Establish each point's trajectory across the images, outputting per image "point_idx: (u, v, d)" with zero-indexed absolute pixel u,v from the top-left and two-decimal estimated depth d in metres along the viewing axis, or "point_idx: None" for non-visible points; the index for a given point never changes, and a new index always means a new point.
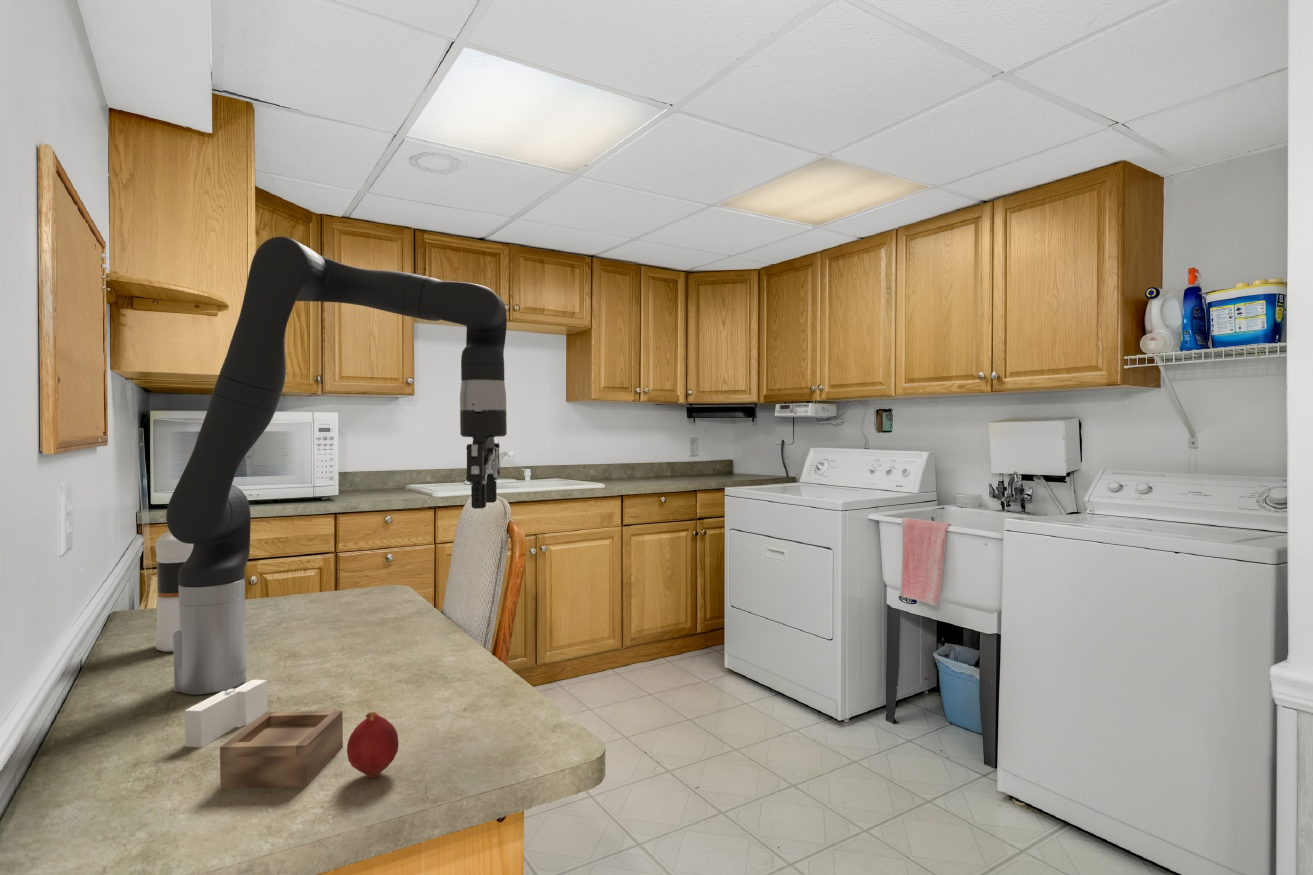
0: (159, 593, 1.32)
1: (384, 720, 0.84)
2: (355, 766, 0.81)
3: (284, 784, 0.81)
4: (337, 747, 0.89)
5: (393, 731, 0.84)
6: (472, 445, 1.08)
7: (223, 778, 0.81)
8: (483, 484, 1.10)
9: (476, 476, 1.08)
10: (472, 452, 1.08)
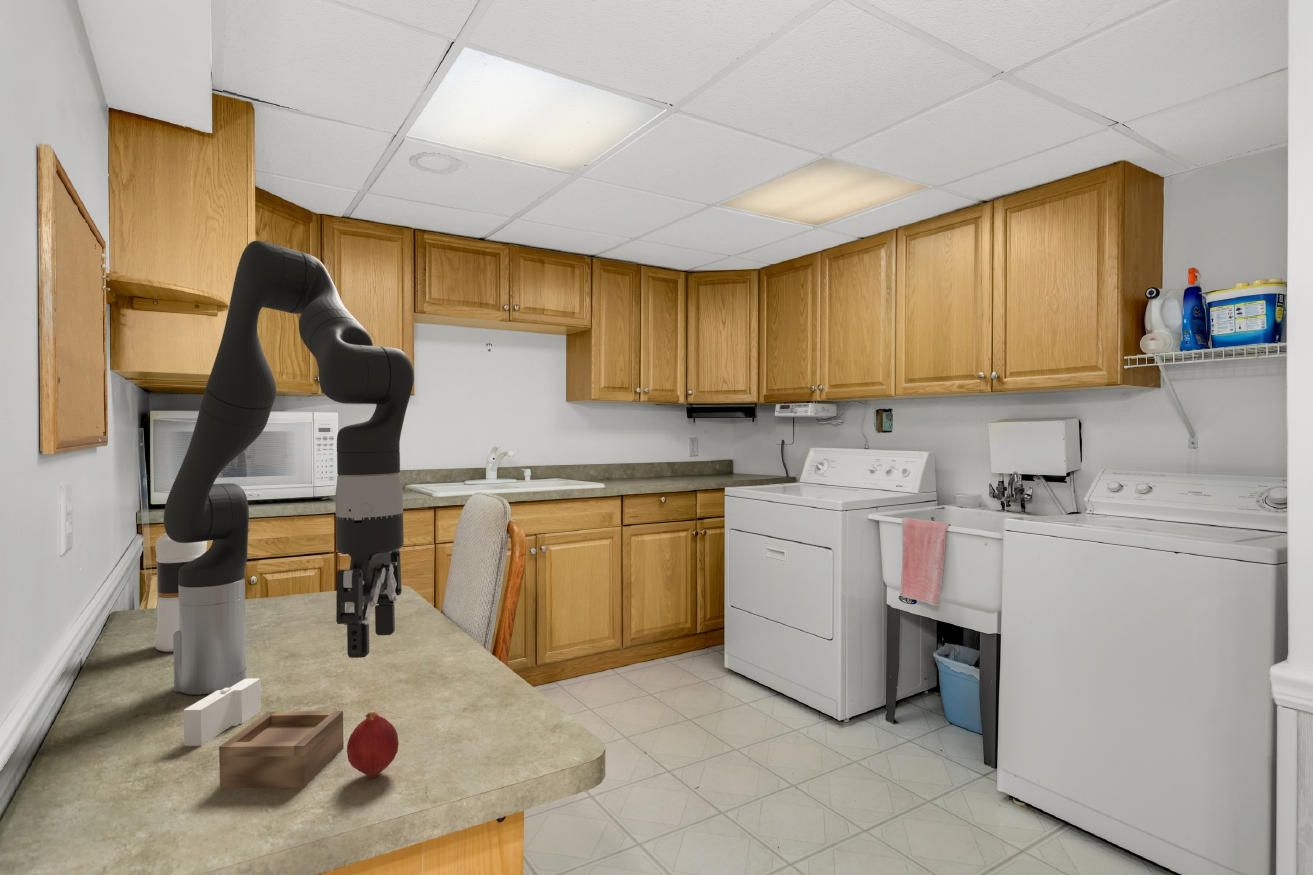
0: (159, 593, 1.32)
1: (384, 720, 0.84)
2: (355, 766, 0.81)
3: (282, 784, 0.81)
4: (337, 748, 0.89)
5: (393, 731, 0.84)
6: (344, 572, 0.76)
7: (222, 778, 0.81)
8: (363, 624, 0.78)
9: (350, 616, 0.76)
10: (344, 582, 0.76)
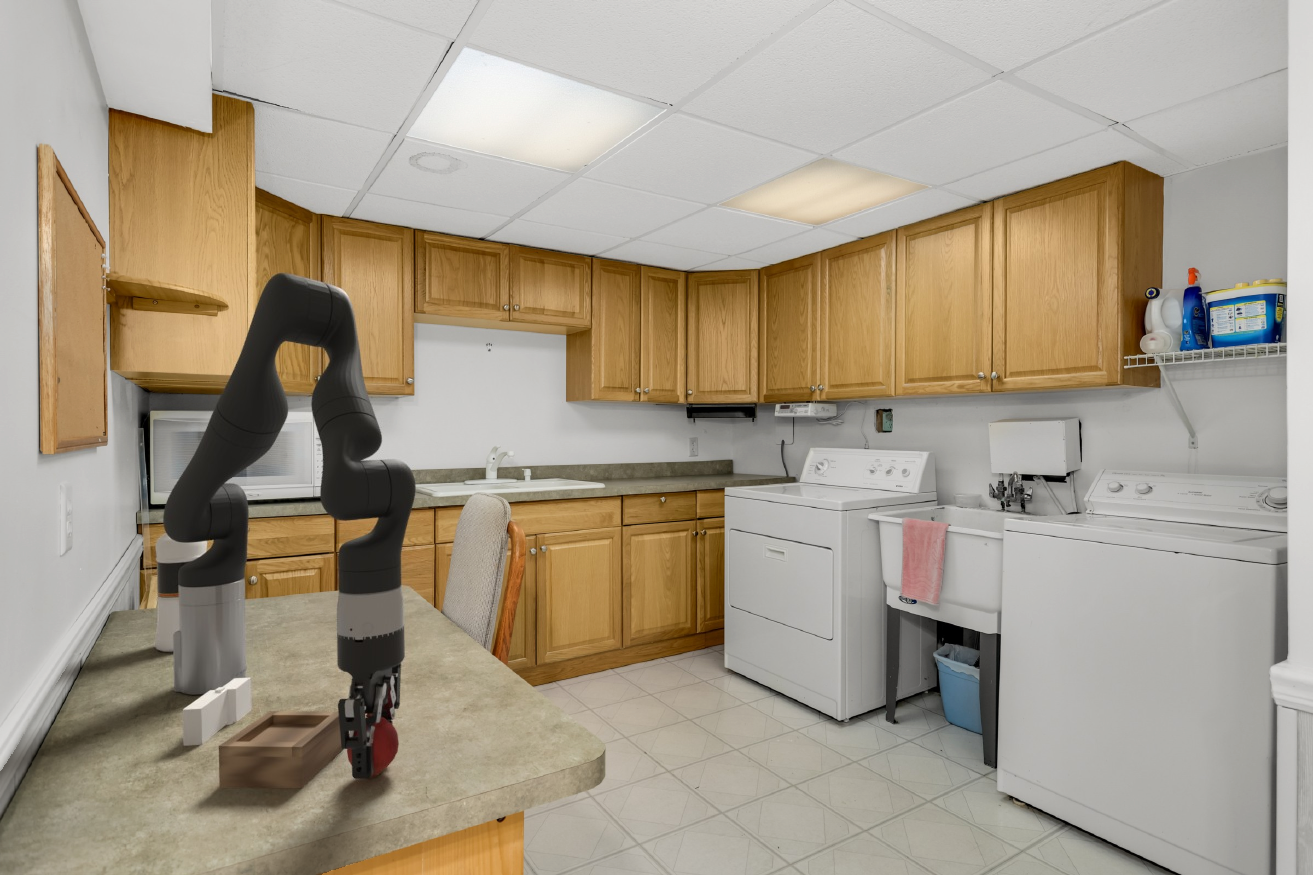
0: (159, 593, 1.32)
1: (384, 720, 0.84)
2: None
3: (281, 784, 0.81)
4: (337, 748, 0.89)
5: (393, 730, 0.84)
6: (346, 703, 0.77)
7: (222, 777, 0.81)
8: None
9: (355, 743, 0.77)
10: (346, 713, 0.77)
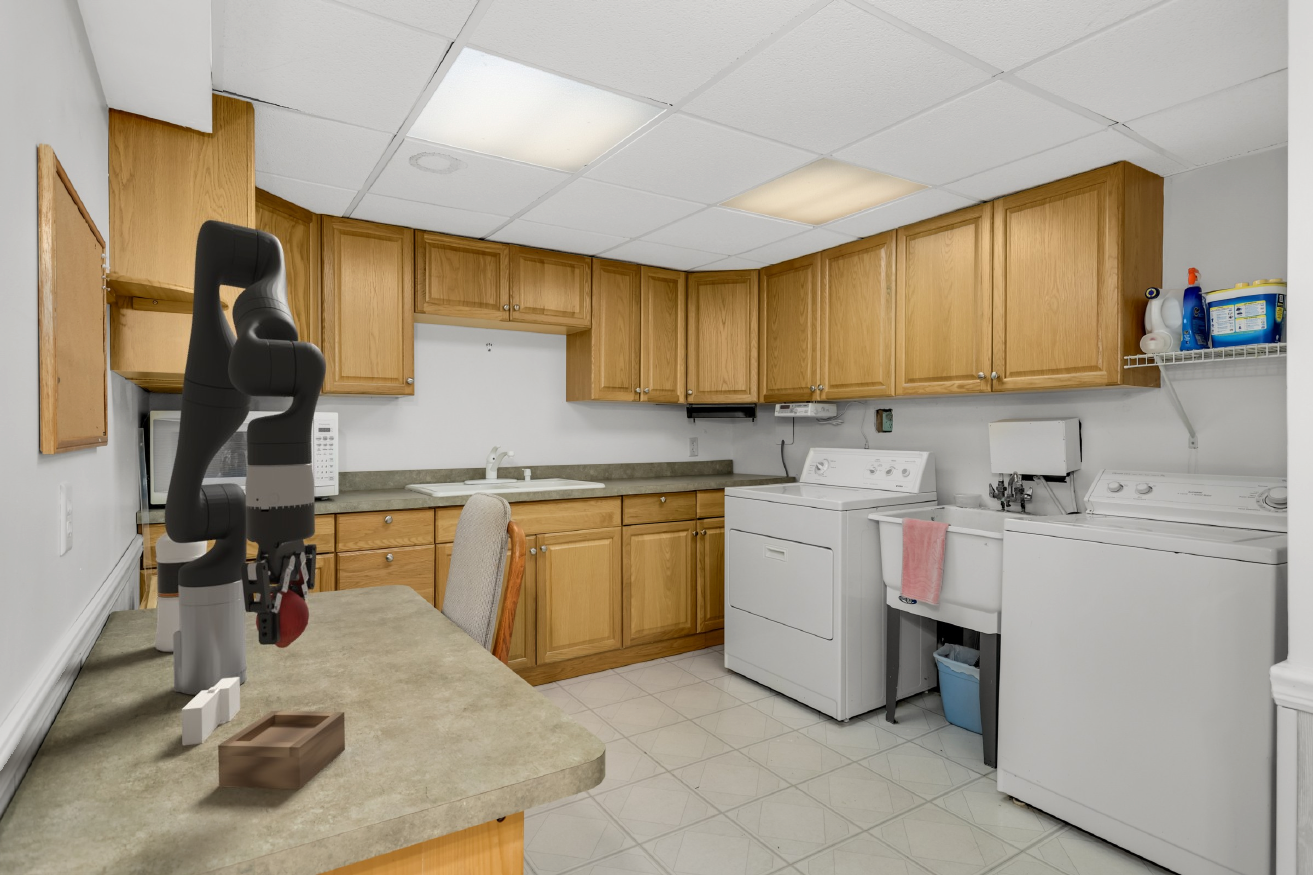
0: (159, 593, 1.32)
1: (294, 593, 0.86)
2: None
3: (278, 785, 0.81)
4: (337, 749, 0.89)
5: (303, 604, 0.86)
6: (248, 566, 0.79)
7: (221, 776, 0.81)
8: (274, 612, 0.82)
9: (258, 606, 0.80)
10: (249, 575, 0.79)
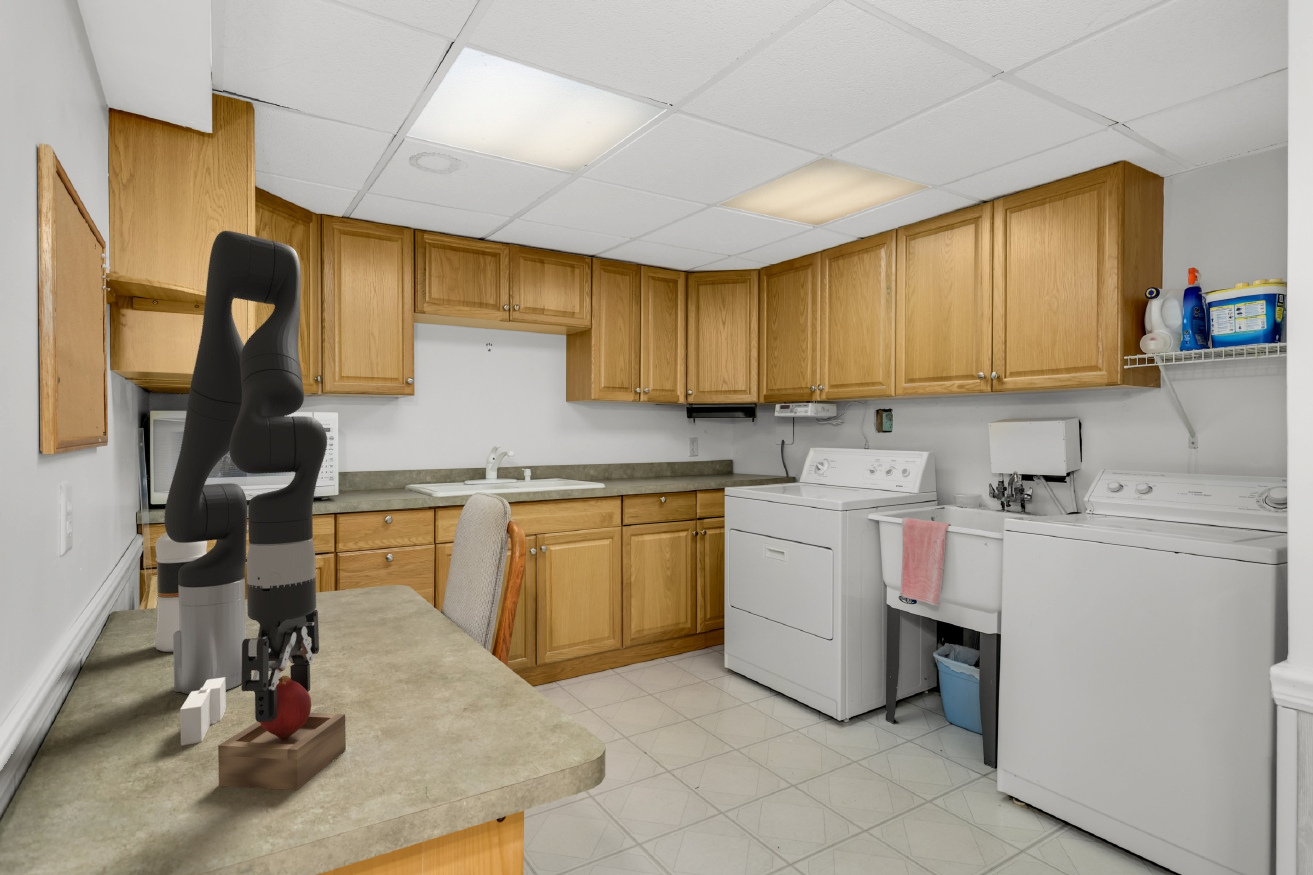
0: (159, 593, 1.32)
1: (297, 685, 0.86)
2: (265, 728, 0.84)
3: (276, 787, 0.81)
4: (337, 751, 0.89)
5: (305, 695, 0.86)
6: (250, 641, 0.79)
7: (221, 776, 0.82)
8: (270, 690, 0.81)
9: (255, 684, 0.79)
10: (249, 651, 0.79)
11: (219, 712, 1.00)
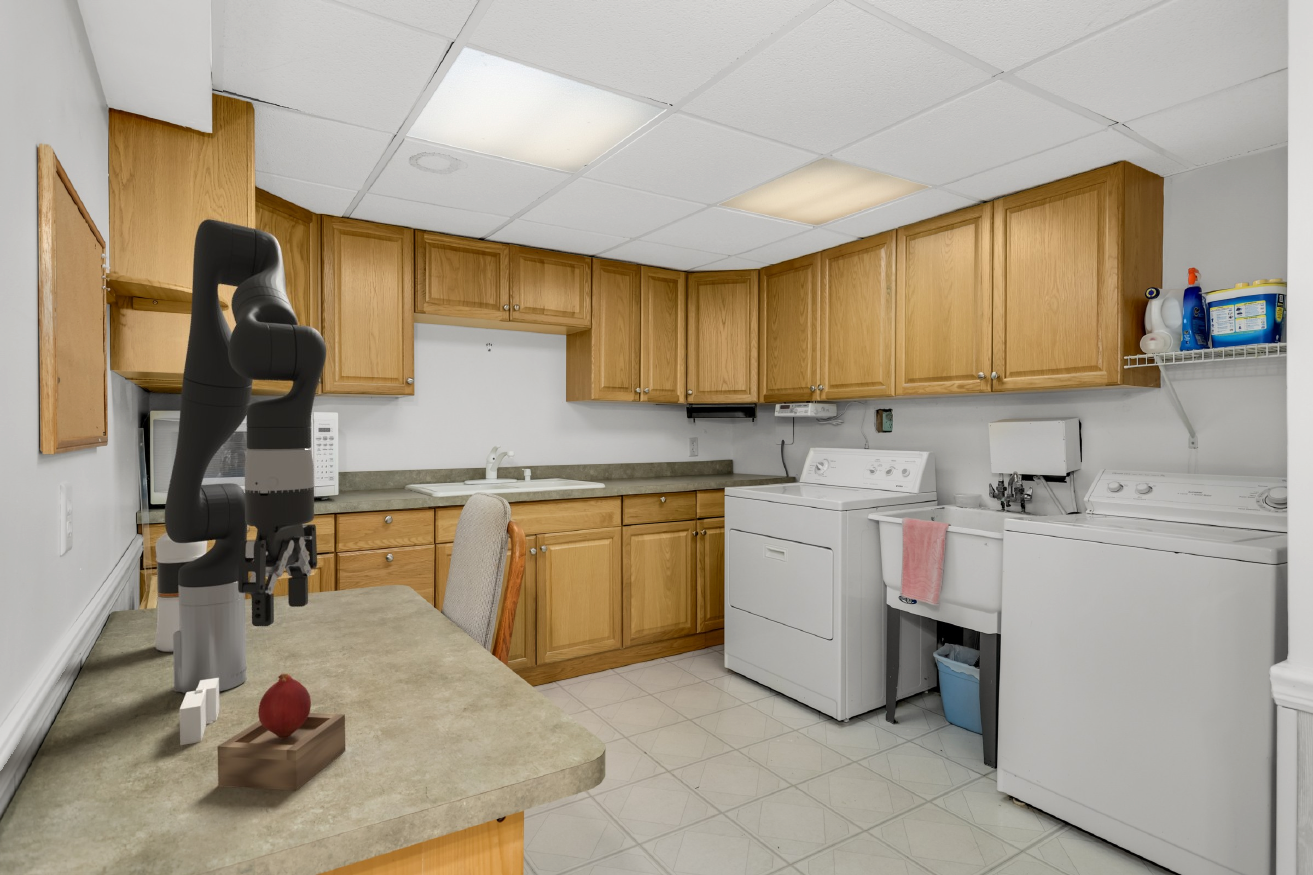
0: (159, 593, 1.32)
1: (297, 682, 0.87)
2: (266, 725, 0.84)
3: (276, 787, 0.81)
4: (337, 751, 0.89)
5: (306, 692, 0.87)
6: (247, 543, 0.79)
7: (220, 777, 0.81)
8: (267, 594, 0.81)
9: (252, 586, 0.79)
10: (246, 552, 0.79)
11: (215, 712, 1.00)
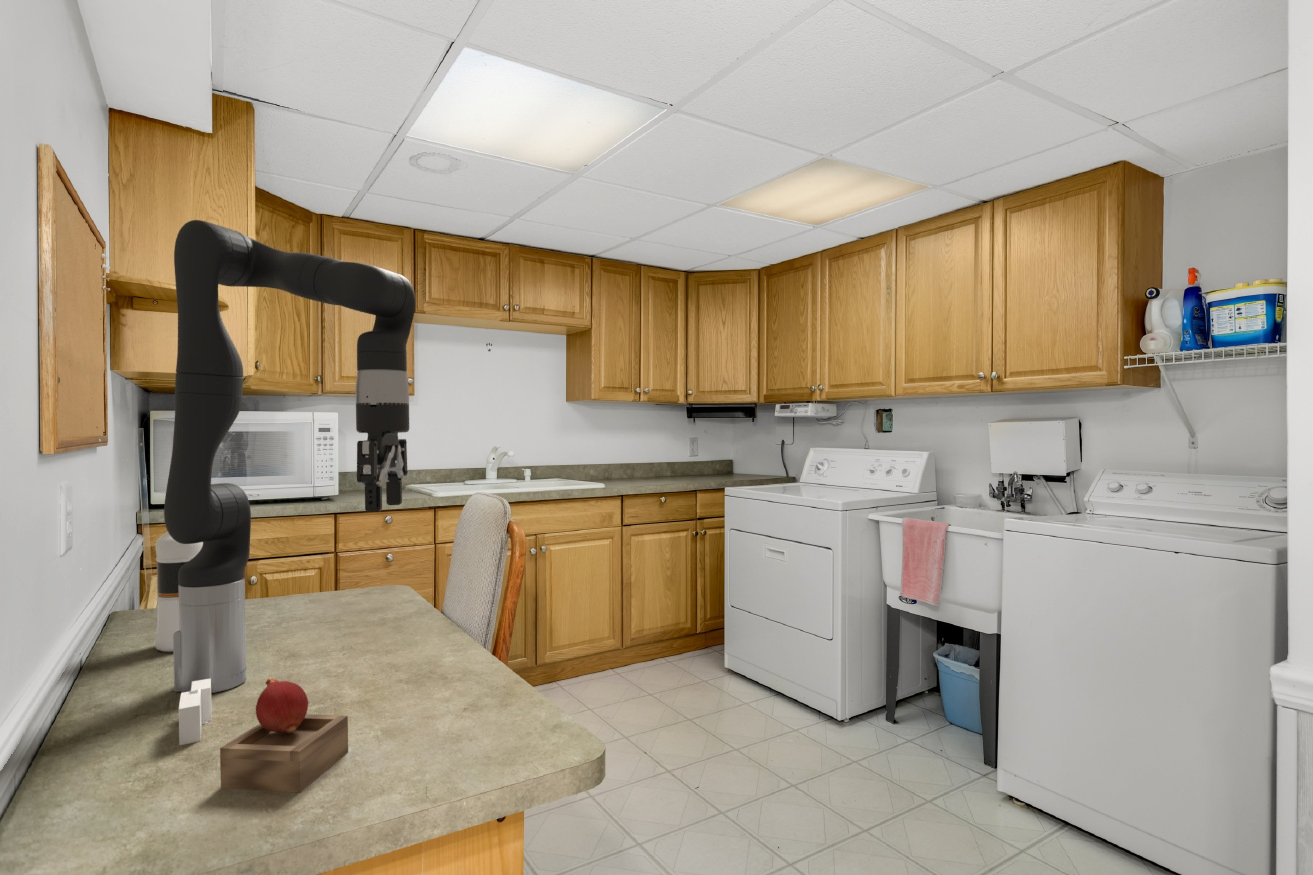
0: (159, 593, 1.32)
1: None
2: (270, 714, 0.84)
3: (279, 789, 0.80)
4: (340, 753, 0.88)
5: None
6: (363, 442, 0.98)
7: (223, 779, 0.81)
8: (377, 485, 1.00)
9: (367, 476, 0.98)
10: (363, 449, 0.98)
11: (210, 712, 1.00)
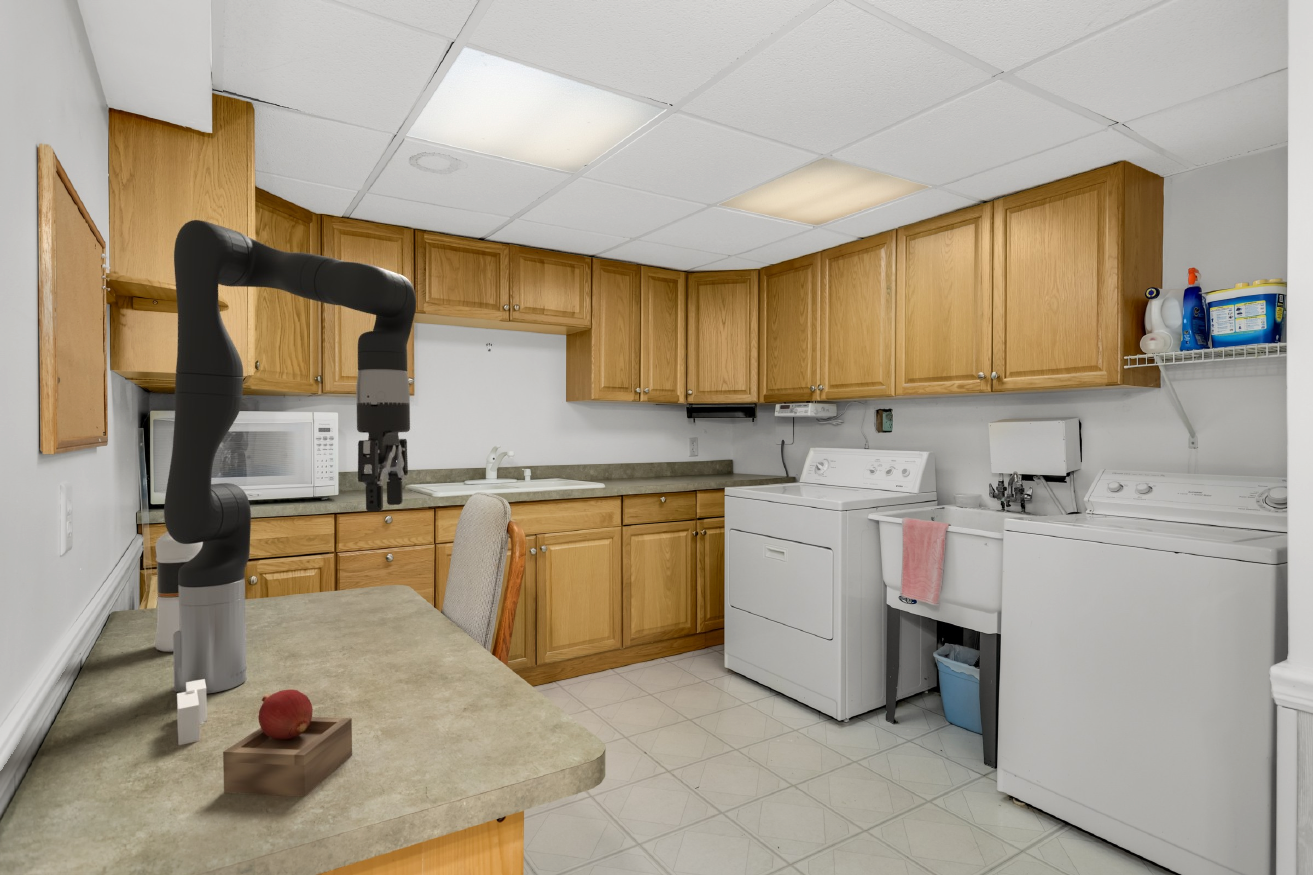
0: (159, 593, 1.32)
1: None
2: (277, 716, 0.83)
3: (283, 793, 0.79)
4: (344, 756, 0.87)
5: None
6: (364, 441, 0.98)
7: (226, 783, 0.80)
8: (378, 485, 1.00)
9: (368, 476, 0.98)
10: (364, 449, 0.98)
11: (205, 712, 1.00)
